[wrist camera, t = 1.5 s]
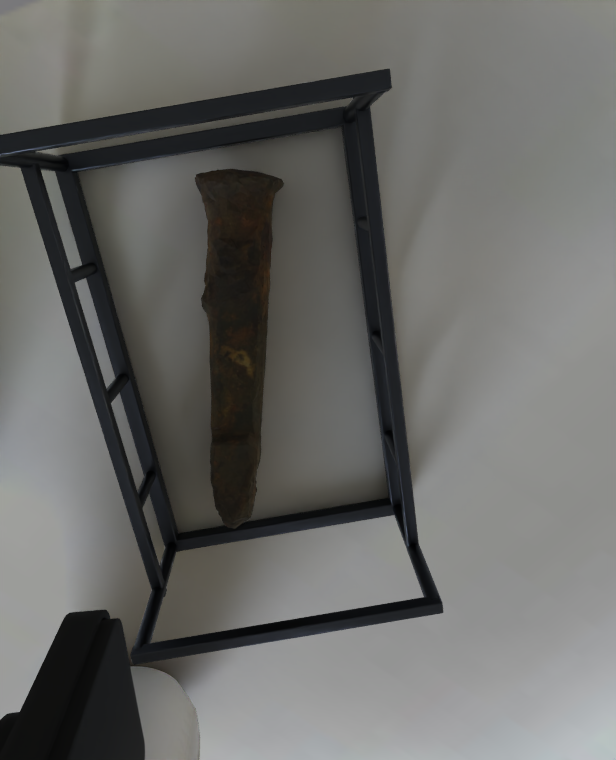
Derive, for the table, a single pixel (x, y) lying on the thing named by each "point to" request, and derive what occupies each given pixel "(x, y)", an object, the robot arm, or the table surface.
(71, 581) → the table surface
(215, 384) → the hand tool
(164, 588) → the drying rack
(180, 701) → the grey water bottle
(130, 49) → the table surface
